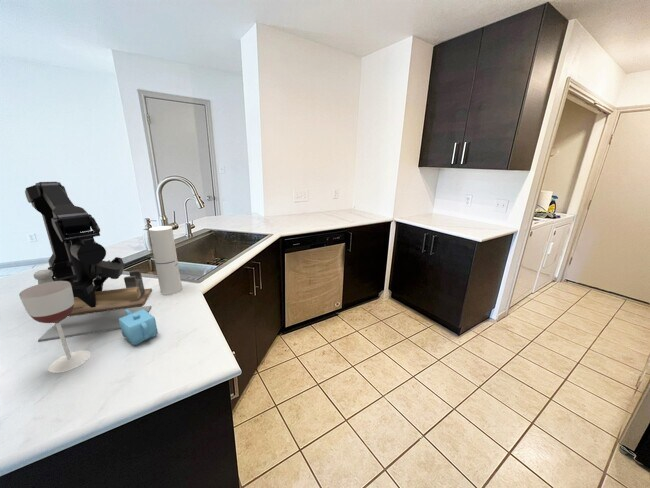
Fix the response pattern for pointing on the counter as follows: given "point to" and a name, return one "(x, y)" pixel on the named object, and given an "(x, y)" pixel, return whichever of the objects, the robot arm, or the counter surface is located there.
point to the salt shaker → (43, 276)
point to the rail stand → (130, 282)
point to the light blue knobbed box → (138, 326)
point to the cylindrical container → (165, 259)
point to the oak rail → (111, 296)
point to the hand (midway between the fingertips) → (96, 304)
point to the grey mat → (89, 323)
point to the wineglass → (54, 316)
